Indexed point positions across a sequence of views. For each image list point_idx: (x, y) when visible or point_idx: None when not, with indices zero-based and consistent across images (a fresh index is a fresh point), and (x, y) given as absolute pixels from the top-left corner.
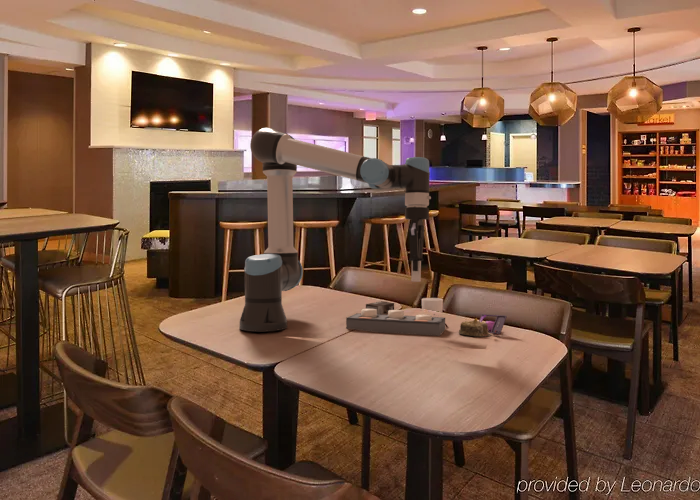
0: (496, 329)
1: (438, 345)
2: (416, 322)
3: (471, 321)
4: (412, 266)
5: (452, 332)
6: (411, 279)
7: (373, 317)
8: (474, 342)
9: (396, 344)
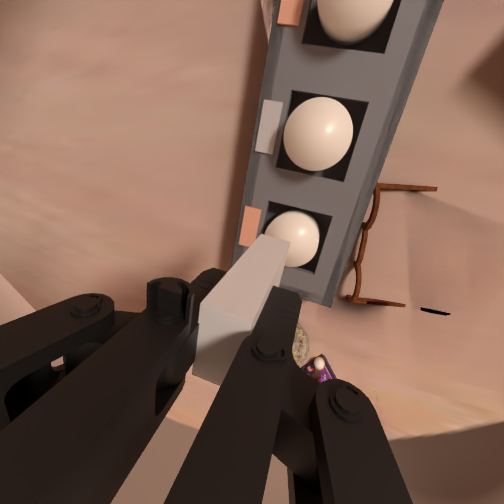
0: None
1: (137, 246)
2: (240, 212)
3: None
4: (222, 282)
5: None
6: (257, 238)
7: (323, 28)
8: None
9: (121, 155)
